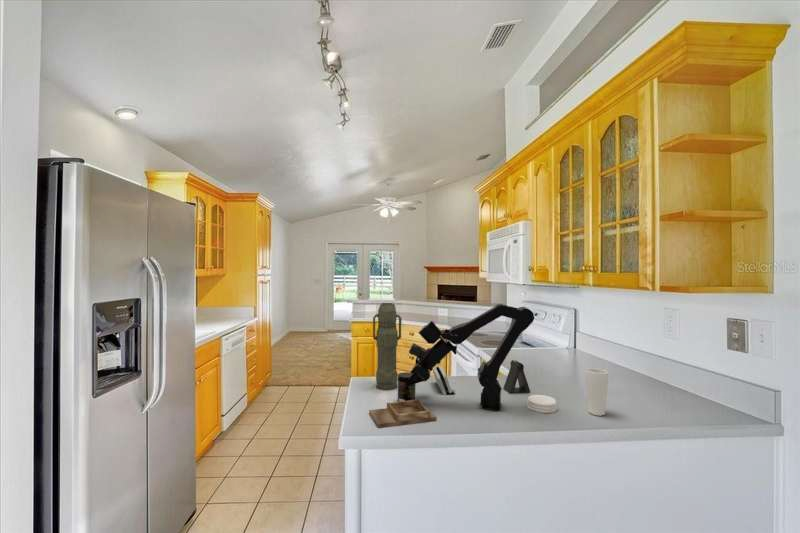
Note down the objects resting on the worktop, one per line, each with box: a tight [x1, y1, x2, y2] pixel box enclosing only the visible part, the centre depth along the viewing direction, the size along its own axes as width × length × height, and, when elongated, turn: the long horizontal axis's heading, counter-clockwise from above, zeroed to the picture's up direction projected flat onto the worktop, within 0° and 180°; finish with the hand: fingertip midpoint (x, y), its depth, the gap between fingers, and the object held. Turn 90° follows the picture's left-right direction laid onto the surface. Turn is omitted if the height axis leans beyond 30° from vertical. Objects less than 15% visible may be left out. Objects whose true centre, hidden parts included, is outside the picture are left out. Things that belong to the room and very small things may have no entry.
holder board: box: [368, 399, 438, 429], centre depth 131 cm, size 20×12×3 cm, turn 108°
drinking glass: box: [586, 367, 609, 417], centre depth 135 cm, size 7×7×15 cm
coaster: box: [526, 394, 558, 414], centre depth 140 cm, size 10×10×4 cm
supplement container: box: [397, 371, 417, 402], centre depth 144 cm, size 7×7×10 cm
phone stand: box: [503, 359, 531, 395], centre depth 159 cm, size 9×6×12 cm, turn 99°
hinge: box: [432, 365, 457, 396], centre depth 161 cm, size 17×5×10 cm, turn 4°
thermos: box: [372, 302, 403, 391], centre depth 162 cm, size 9×12×35 cm
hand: (407, 381), depth 144 cm, fingers open, 9 cm apart
